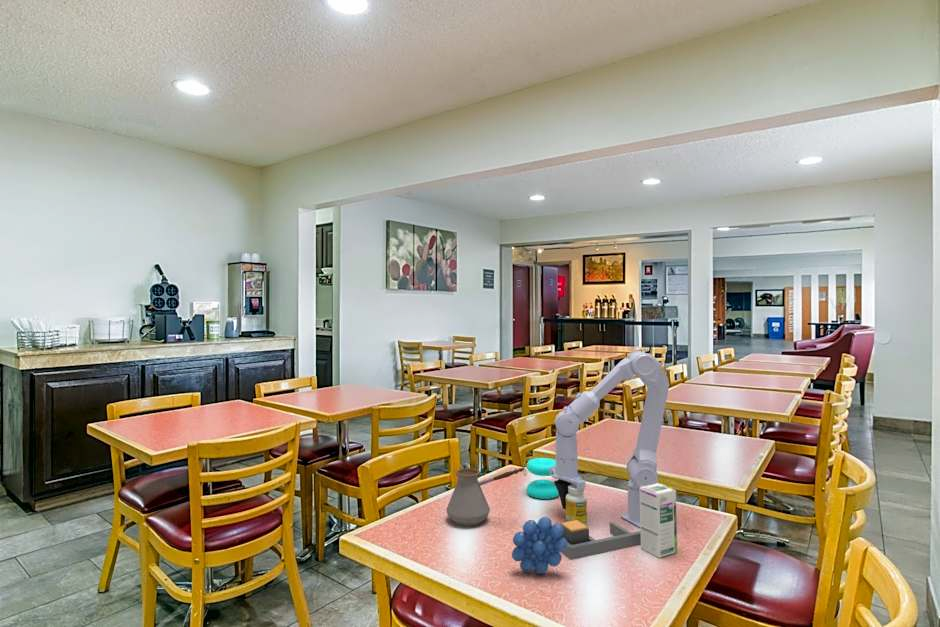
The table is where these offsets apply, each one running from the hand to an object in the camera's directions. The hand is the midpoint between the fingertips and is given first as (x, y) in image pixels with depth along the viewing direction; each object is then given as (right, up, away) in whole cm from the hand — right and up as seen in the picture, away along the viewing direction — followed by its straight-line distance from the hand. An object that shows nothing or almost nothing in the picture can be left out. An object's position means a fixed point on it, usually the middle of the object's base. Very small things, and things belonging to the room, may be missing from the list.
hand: (566, 508), depth 139 cm
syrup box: (+17, -3, -20) cm, 26 cm away
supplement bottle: (+2, -3, -4) cm, 5 cm away
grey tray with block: (+4, -3, -16) cm, 17 cm away
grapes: (-11, -3, -29) cm, 31 cm away
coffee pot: (-22, -3, -3) cm, 22 cm away
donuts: (-4, -3, +17) cm, 18 cm away
